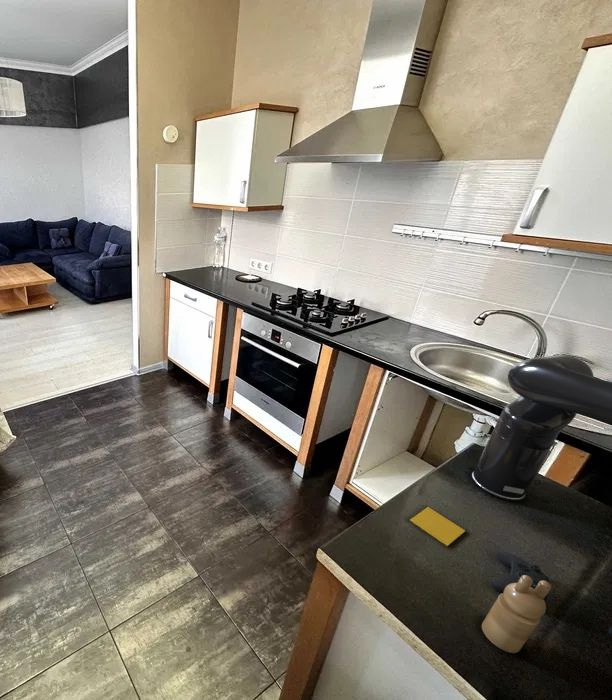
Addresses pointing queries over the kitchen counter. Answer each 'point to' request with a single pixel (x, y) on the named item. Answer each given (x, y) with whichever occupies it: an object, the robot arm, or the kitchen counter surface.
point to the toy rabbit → (516, 614)
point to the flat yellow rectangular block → (437, 526)
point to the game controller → (517, 572)
